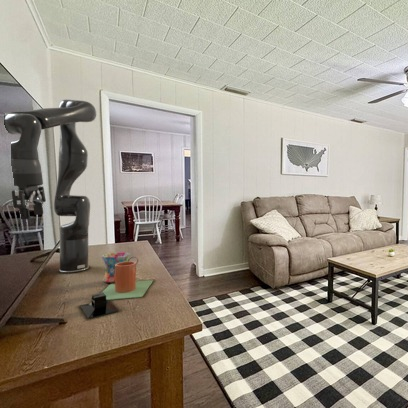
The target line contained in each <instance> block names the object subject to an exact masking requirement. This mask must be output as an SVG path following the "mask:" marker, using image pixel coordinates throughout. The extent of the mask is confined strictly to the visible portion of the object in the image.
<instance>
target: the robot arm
mask: <svg viewBox="0 0 408 408" xmlns="http://www.w3.org/2000/svg"><path fill="white" fill-rule="evenodd" d="M4 113H5V115H4V125H5V128H6V130H7V131H8V133H9V135H20V136H19V139H18V140H13V141H10V142H11V166H12V172H13V178H14V186H13V187H17V189H12V190H11V198H12V205H13V206H12V207H13V208H14V209H17V208H18V209H17V210H18V212H19V211H20V213H19V215H20V214H21V219H20V220H29V219H31V215H30V208H29V207H30V204H33V213H34V215H35V216H42V215H44V208H43V205H44V203H45V202H46V201H47V200H46V194H45V193H46V192H45V188H44V186H42V185H44V180H43V172H42V165H41V163H40V157H39V151H38V146H39V142H40V138H41V135H42V130H47V129H51V128H55V127H59V149H58V150H59V151H58V165H57V166H58V167H57V168H58V169H57V170H58V171H57V180H56V181H57V182H56V188H55V194H54V200H53V210H54V213H55V215H56V216H58V217H74V220H73V221H71V222H68V223H65V224H62V225H60V227H59V273H62V274H72V273H80V272H83V271H87V270H88V269H89V268H90V267H89V227H90V215H91V213H90V212H91V201H90V198H89V197H88V196H87V195H77V194H76V195H75V194H73V195H72V194H71V190H72V188H73V187H72V186H73V185H74V183H75V182H76V181H77V180H78V178H79V177H80V176H81V175H82V174H83V173H84V172H85V171H86V169H87V167H88V161H89V159H88V158H89V152H88V149H87V147H86V146H85V144H84V143H83V142H82V140H81V139H80V138H79V136H78V134H77V127H76V124H77V123H91V122H94V121H95V119H96V118H97V110H96V107H95V105H93V104H92V103H91V102H89V101H87V100H80V99H79V100H78V99H61V101H60V102H59V106H58V107H46V108H44V107H43V108H38V109H37V108H36V109H32V110H26V111H9V112H4ZM8 133H7V134H8ZM70 194H71V195H70Z"/></svg>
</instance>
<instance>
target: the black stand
mask: <svg viewBox="0 0 408 408" xmlns="http://www.w3.org/2000/svg"><path fill="white" fill-rule="evenodd" d="M80 309H82V311H83V312H84V314H85V316H86V318H87V319H88V320H90V319H94V318H98V317H103V316H106V315H110V314H115V313H118V312H119V310H118V309H117V308H116V307H115V306H114V305H113V303H112V302H111V300H108V299H107V300H106V295H105V294H104V293H101V292H98V293H94V294H91V302H90V303H85V304H81V305H80Z"/></svg>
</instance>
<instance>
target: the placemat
mask: <svg viewBox="0 0 408 408" xmlns="http://www.w3.org/2000/svg"><path fill="white" fill-rule="evenodd" d="M153 282H154V280H153V279H148V280H136V289H135V290H133V291H130V292H126V293H116V292H115V282H114V283H109V285H107V287H106V288H105V289H103V290H102V291H101V292H100V293H104V294H105V295H106V300H107V299H108V300H109V301H114V300H125V299H126V300H127V299H137V298H143V296H144V295H145V294H146V292H147V291H148V290H149V288H150V286H151V285H152V283H153Z"/></svg>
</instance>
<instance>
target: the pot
mask: <svg viewBox="0 0 408 408" xmlns="http://www.w3.org/2000/svg"><path fill="white" fill-rule="evenodd" d="M136 263H137V261H129V262H121V263H117V264H115V282H114V283H115V292H116V293H126V292H130V291H133V290H135V289H136V281H137V265H136Z"/></svg>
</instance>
